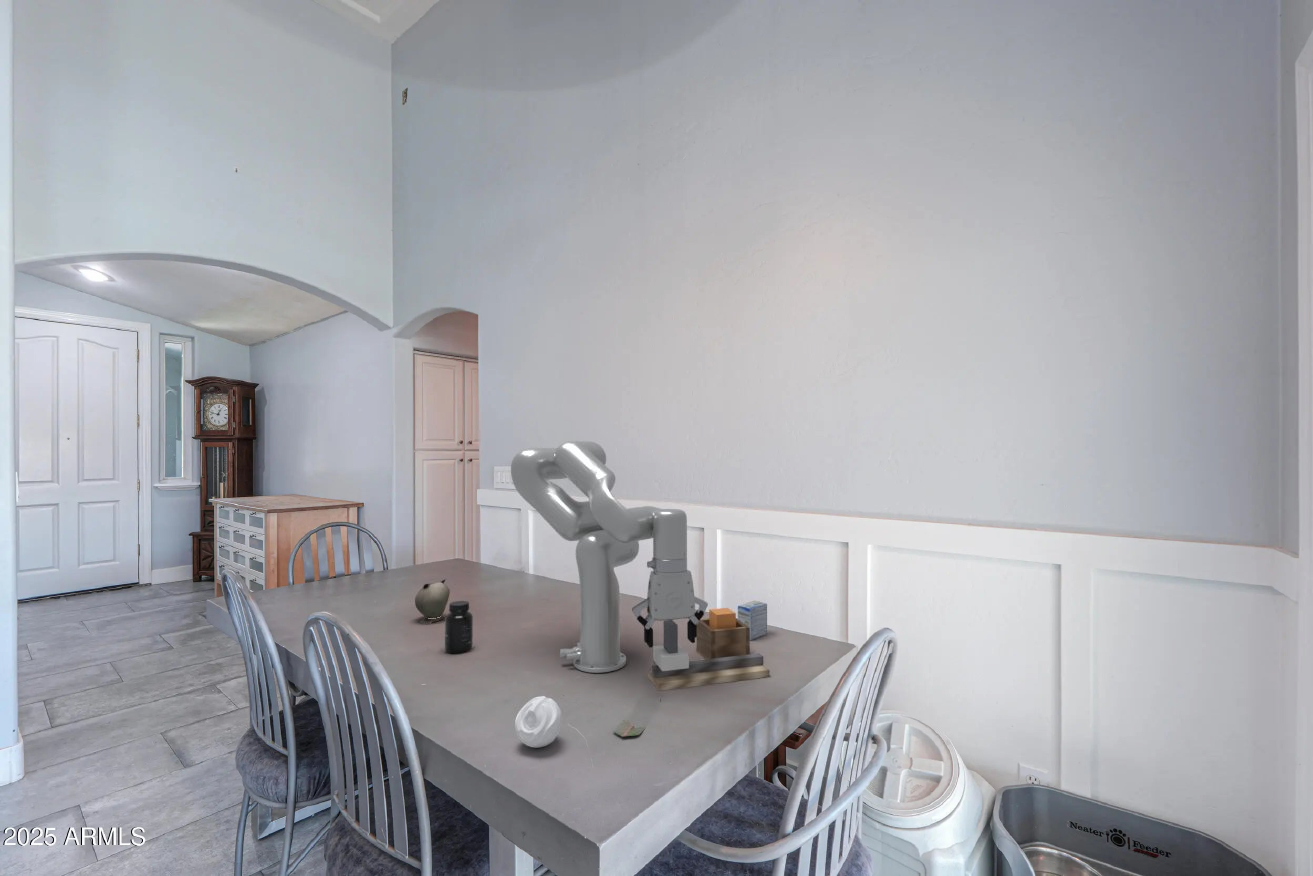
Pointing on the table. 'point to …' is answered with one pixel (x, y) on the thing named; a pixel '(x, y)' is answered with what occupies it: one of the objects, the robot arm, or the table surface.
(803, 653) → the table surface
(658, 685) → the rail base
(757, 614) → the medicine box
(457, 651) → the supplement bottle
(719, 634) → the brown wooden box
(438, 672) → the table surface
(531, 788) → the table surface
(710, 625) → the plunger
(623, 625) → the table surface
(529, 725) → the white carved ovoid
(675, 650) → the carriage
